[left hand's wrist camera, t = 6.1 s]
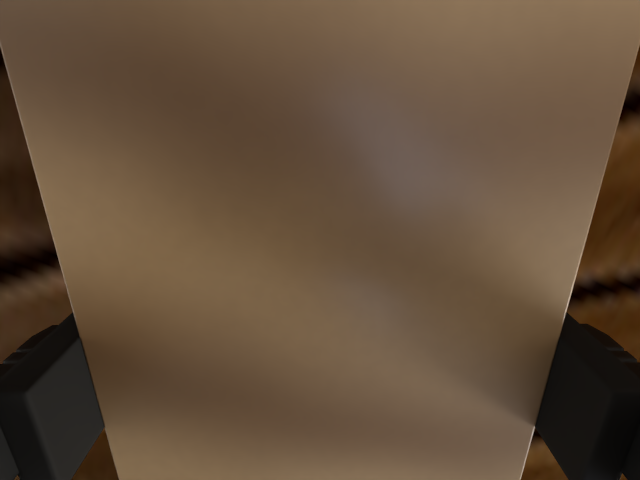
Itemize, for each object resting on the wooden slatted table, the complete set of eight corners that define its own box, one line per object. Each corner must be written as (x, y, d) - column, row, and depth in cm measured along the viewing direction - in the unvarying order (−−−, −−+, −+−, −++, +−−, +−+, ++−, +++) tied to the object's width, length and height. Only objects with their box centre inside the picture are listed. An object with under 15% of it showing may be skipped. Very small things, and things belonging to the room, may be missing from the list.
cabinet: (142, -271, 12) (-387, -1348, 3) (497, -271, 12) (1023, -1343, 3) (211, 309, 19) (121, 492, 10) (427, 309, 19) (518, 492, 10)
